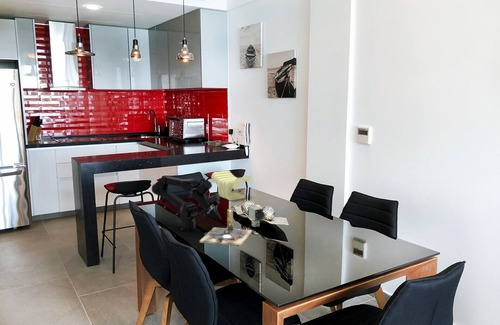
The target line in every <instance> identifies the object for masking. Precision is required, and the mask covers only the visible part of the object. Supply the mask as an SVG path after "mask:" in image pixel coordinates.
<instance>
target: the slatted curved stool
mask: <svg viewBox="0 0 500 325" xmlns="http://www.w3.org/2000/svg"><path fill="white" fill-rule="evenodd" d="M252 180H253V176H252V175H250V176H243V177H237V176H235V175H234V174H233V173H232V172H231V171H230V170H221V171H220V170H219V171H214V172H213V173H212V174H211V183H215V184H216V185H217V191H218V192H217V193H218V194H219V197H220V198H223V199H226V200H228V201H235V200H241V199H245V198H246V197H245V194H242V193H239V192H232V191H233V190H236V189H239V188H240V186H241V184H242V183H245V182H248V181H252Z"/></svg>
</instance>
